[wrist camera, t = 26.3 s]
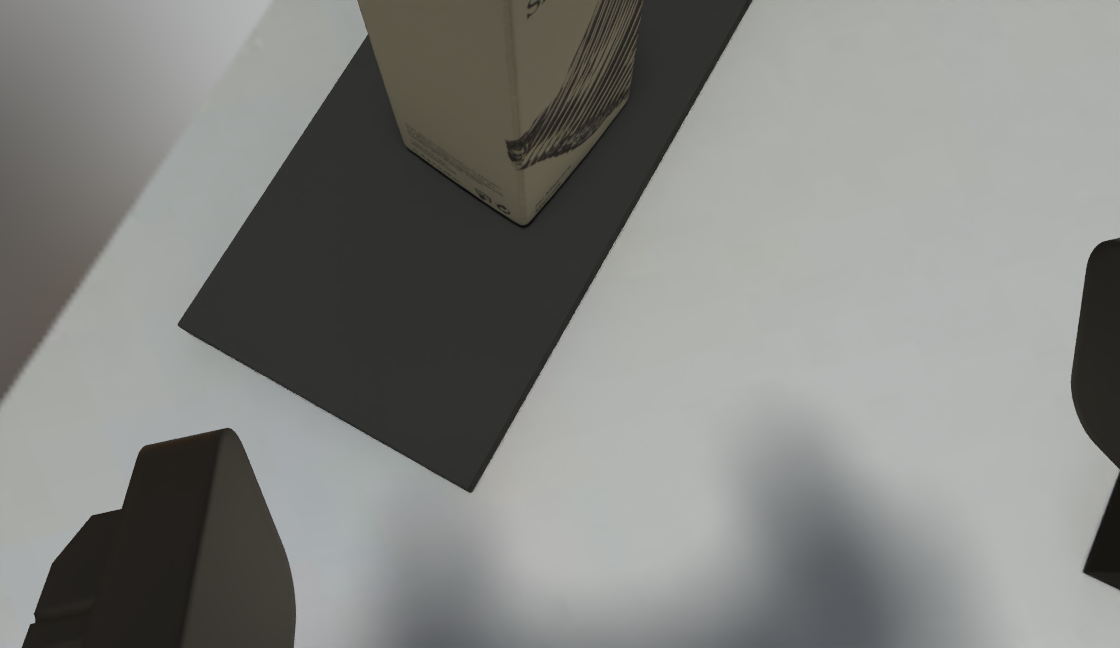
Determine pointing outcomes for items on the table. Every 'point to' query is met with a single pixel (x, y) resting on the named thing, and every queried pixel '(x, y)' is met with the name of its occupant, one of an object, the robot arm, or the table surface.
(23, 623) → the table surface
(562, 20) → the box
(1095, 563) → the vhs tape
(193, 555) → the robot arm
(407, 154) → the scrub mat
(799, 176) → the table surface
